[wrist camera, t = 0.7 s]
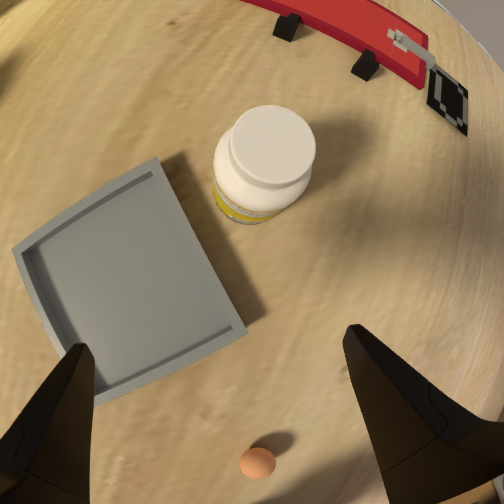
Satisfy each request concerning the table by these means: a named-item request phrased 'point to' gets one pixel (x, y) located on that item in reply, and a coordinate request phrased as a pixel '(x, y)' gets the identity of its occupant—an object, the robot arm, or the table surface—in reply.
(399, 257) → the table surface
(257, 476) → the orange ball
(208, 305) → the tray
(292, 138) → the supplement bottle
